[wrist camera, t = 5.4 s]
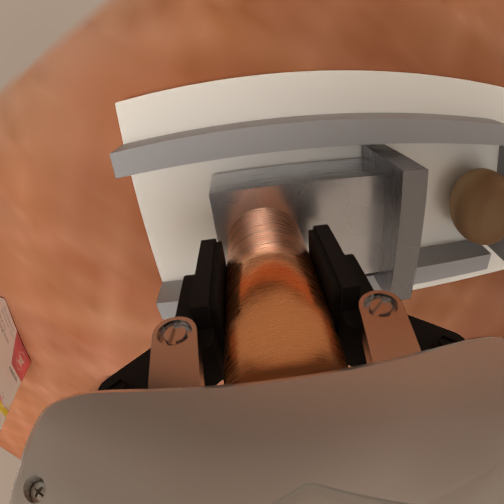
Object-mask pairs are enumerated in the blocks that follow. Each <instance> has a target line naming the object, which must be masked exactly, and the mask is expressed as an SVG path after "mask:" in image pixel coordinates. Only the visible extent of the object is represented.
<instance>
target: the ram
mask: <svg viewBox="0 0 504 504" xmlns="http://www.w3.org/2000/svg"><path fill="white" fill-rule="evenodd" d="M428 171H429V170H428V169H427V168H425V167H424V166H422V165H420V164H419V163H417V162H415V161H413V160H412V159H410V158H408V157H407V156H405V155H403V154H401V153H400V152H398V151H396V150H394V149H392V148H391V147H389V146H387V145H385V144H372V145H363V158H359V159H345V160H332V161H320V162H309V163H299V164H289V165H280V166H272V167H263V168H255V169H247V170H240V171H233V172H226V173H219V174H213V178H212V182H211V187H210V191H209V199H210V204H211V209H212V214H213V219H214V225H215V230H216V235H217V240H218V242H220V241H221V242H222V245H223V250H224V255H225V260H226V265H227V275H226V308H225V349H224V385H226V384H237V383H247V382H257V381H265V380H274V379H281V378H289V377H296V376H302V375H309V374H315V373H321V372H327V371H333V370H338V369H344V368H349V367H348V364H347V361H346V358H345V355H344V352H343V348H342V345H341V343H340V340H339V337H338V334H337V331H336V328H335V325H334V322H333V319H332V316H331V313H330V310H329V308H328V305H327V302H326V299H325V296H324V293H323V291H322V288H321V285H320V282H319V280H318V277H317V274H316V271H315V269H314V266H313V263H312V261H311V258H310V255H309V241H308V230H313V226H315V225H323V224H328V225H329V227H330V229H331V231H332V232H333V234H334V236H335V238H336V240H337V242H338V243H339V245H340V247H341V249H342V251H343V253H344V254H345V255H346V254H353V255H354V256H355V258H356V259H357V261H358V263H359V265H360V266H361V268H362V270H363V272H364V273H365V274H368V273H372V274H373V276H374V278H375V279H376V281H377V283H378V285H379V286H380V288H381V290H383V291H388V292H391V293H393V294H395V295H396V296H397V297H399V298H400V300H404V299H409V298H411V293H412V289H413V284H414V278H415V273H416V268H417V262H418V256H419V250H420V244H421V237H422V230H423V222H424V214H425V206H426V196H427V185H428Z"/></svg>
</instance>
